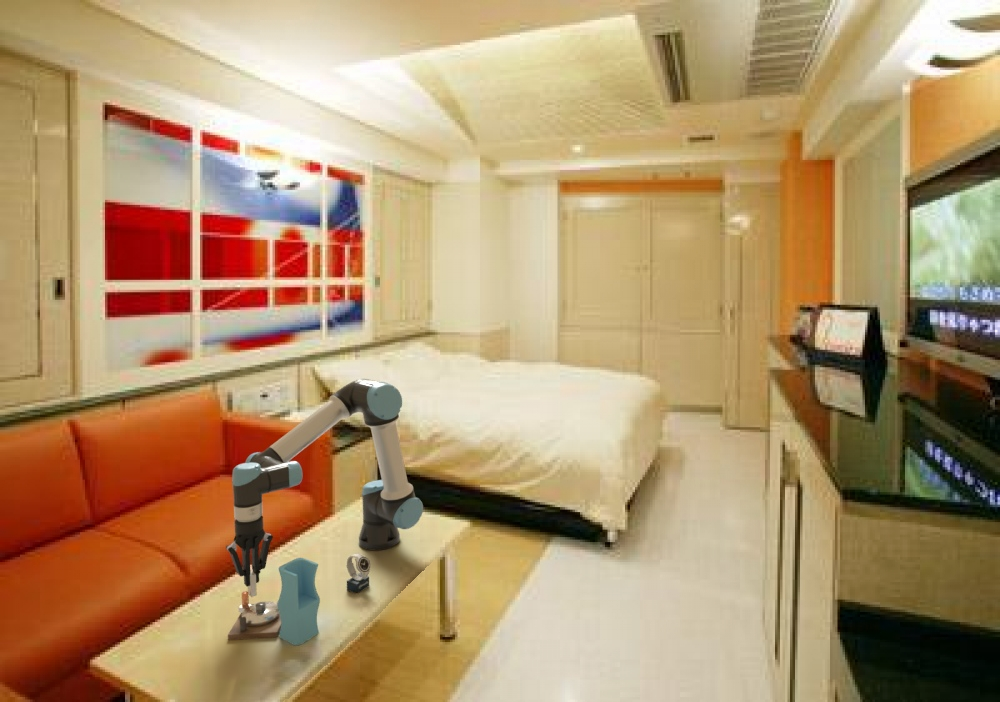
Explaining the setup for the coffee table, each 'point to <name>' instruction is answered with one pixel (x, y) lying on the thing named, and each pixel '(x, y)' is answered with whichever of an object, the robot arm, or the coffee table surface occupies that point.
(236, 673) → the coffee table surface
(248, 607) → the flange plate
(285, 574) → the blue tall hollow container
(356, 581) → the watch
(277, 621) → the base board
